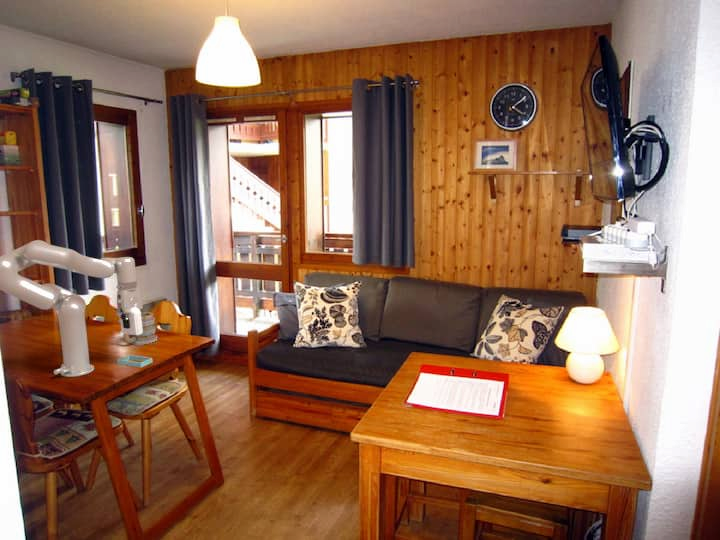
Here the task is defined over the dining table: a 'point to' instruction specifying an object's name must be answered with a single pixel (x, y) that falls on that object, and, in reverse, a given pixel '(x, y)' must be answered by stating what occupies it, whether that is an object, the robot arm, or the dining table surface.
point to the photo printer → (133, 323)
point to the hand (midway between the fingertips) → (131, 326)
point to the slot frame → (136, 364)
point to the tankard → (144, 331)
